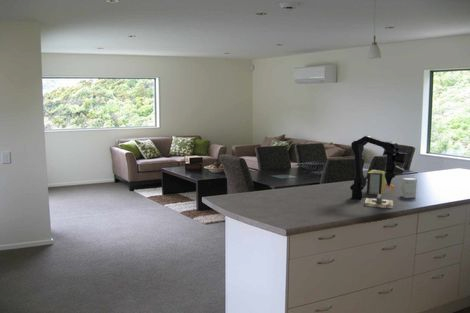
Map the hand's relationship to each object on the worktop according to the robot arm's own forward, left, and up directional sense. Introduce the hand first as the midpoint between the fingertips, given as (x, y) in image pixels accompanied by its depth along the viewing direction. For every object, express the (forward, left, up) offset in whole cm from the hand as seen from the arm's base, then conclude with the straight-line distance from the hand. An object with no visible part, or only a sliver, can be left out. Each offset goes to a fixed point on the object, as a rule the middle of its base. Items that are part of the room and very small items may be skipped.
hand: (388, 185), depth 319 cm
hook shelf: (-5, -2, -13) cm, 14 cm away
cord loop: (0, 0, -5) cm, 5 cm away
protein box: (-8, +37, -13) cm, 40 cm away
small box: (+14, +31, -13) cm, 36 cm away
